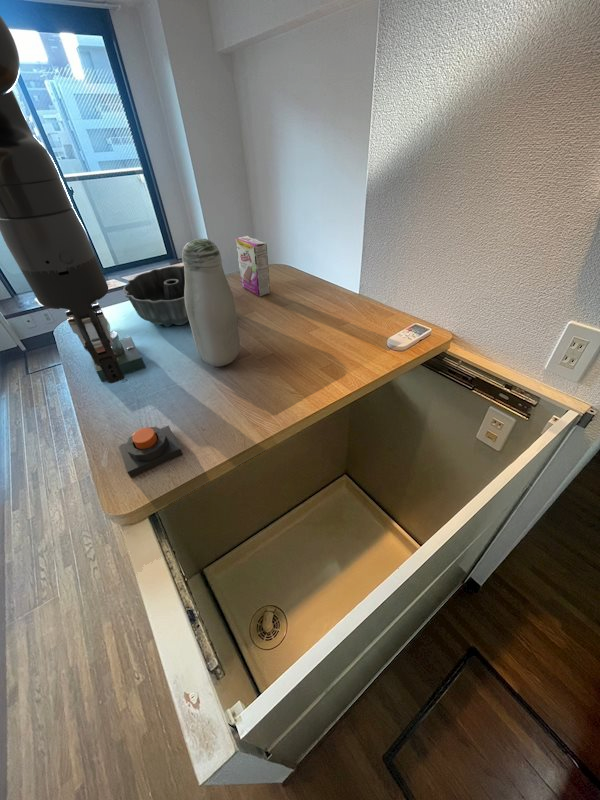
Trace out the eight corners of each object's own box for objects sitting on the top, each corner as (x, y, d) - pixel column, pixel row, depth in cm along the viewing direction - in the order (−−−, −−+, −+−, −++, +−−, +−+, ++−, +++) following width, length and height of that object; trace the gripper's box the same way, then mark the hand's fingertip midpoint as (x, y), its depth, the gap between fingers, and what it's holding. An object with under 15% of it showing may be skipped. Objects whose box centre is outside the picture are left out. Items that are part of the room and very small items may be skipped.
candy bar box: (241, 287, 115) (234, 237, 105) (252, 284, 118) (247, 235, 107) (259, 297, 109) (254, 245, 98) (271, 293, 111) (267, 242, 101)
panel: (146, 367, 79) (141, 356, 77) (101, 382, 75) (95, 371, 73) (134, 346, 87) (130, 335, 85) (93, 358, 83) (87, 347, 81)
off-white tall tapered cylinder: (226, 377, 76) (201, 251, 57) (192, 366, 79) (158, 244, 61) (250, 356, 83) (234, 237, 64) (217, 346, 86) (193, 231, 68)
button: (138, 452, 55) (134, 446, 54) (133, 439, 57) (129, 432, 56) (159, 443, 57) (156, 436, 55) (154, 431, 59) (151, 424, 58)
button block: (130, 478, 55) (123, 465, 53) (121, 451, 59) (114, 439, 57) (182, 454, 59) (177, 441, 56) (170, 431, 63) (165, 418, 61)
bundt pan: (182, 342, 88) (172, 308, 81) (115, 322, 97) (101, 289, 90) (239, 304, 105) (235, 273, 99) (177, 290, 115) (170, 260, 108)
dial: (122, 345, 81) (114, 328, 78) (126, 353, 78) (118, 336, 75) (103, 351, 79) (94, 333, 76) (106, 359, 77) (97, 342, 74)
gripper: (16, 248, 39) (81, 366, 50) (18, 282, 31) (96, 414, 42) (85, 237, 42) (132, 351, 54) (103, 266, 34) (154, 393, 45)
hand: (116, 379), depth 48 cm, fingers closed
